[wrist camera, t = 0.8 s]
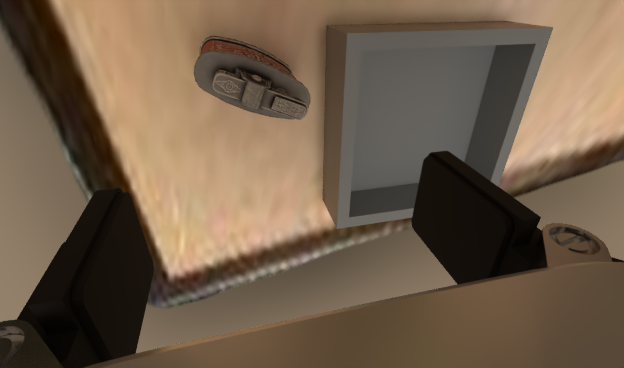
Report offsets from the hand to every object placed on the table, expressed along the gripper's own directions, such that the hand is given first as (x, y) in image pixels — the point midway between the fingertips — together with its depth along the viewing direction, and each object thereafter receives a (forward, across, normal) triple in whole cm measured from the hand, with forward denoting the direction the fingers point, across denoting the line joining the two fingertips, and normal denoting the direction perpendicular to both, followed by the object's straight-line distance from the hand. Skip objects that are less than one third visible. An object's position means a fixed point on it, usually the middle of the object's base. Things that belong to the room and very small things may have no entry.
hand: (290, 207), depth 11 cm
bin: (+22, -16, +6) cm, 28 cm away
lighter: (+22, 0, 0) cm, 22 cm away
